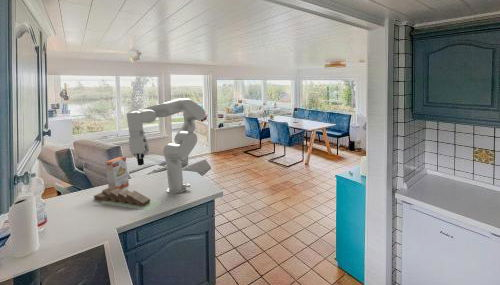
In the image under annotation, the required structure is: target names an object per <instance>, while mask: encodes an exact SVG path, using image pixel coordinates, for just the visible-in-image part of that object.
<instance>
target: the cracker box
mask: <svg viewBox="0 0 500 285" xmlns="http://www.w3.org/2000/svg"><path fill="white" fill-rule="evenodd" d="M126 158H127V157H126V156H117V157H114V158H113V159H112V158H111V159H110V160H108V161H105V170H106V177H107V185H108V188H109V187H112V188H113V189H117V188H119V189H120V190H122V189H124V188H126V187H127V186H130V183H129V175H128V166H127V159H126Z"/></svg>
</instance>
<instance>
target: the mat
mask: <svg viewBox="0 0 500 285" xmlns="http://www.w3.org/2000/svg"><path fill="white" fill-rule="evenodd" d="M163 203H164V201H159V200H151V199H150V203H148V204H146V205H145V206H143V207H142V206H140V205H138V204H135V205H132V204H130V203H126V204H124V203H122V202H120V201H119V202H114V201H113V200H111V201H109V202H108V201H102V200H101V201H99V204H104V205H105V204H106V205H110V206H111V205H112V206H117V207H124V208H130V209H135V210H142V211H147V212H148V211H152V210H153V209H155V208H156V207H158V206H160V205H161V204H163Z"/></svg>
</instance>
